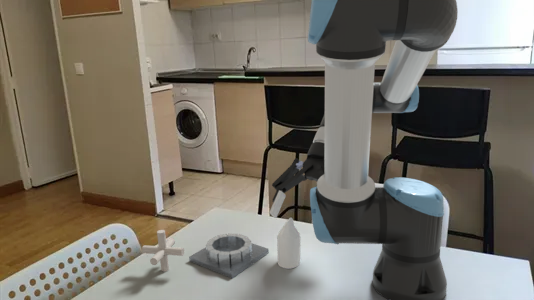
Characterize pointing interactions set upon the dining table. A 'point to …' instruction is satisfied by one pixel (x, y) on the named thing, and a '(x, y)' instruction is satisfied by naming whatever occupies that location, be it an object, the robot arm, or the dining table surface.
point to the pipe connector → (162, 250)
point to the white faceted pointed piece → (288, 246)
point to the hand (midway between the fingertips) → (294, 221)
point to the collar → (229, 254)
